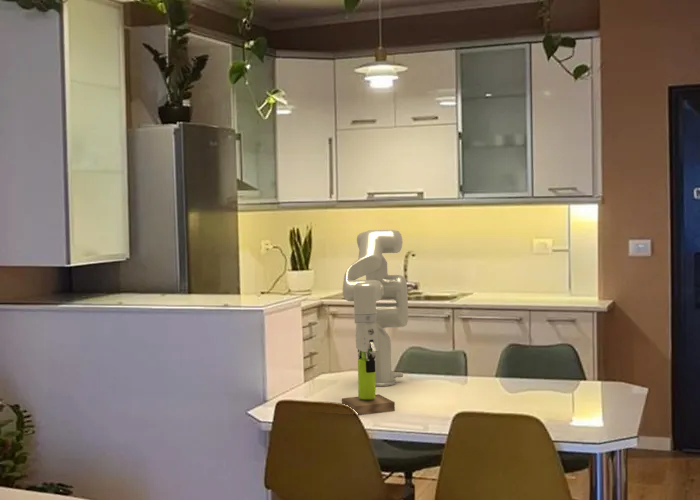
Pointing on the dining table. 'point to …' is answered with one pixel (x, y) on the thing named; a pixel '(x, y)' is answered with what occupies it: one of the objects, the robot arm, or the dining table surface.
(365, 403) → the block
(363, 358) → the soap dispenser
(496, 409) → the dining table surface
